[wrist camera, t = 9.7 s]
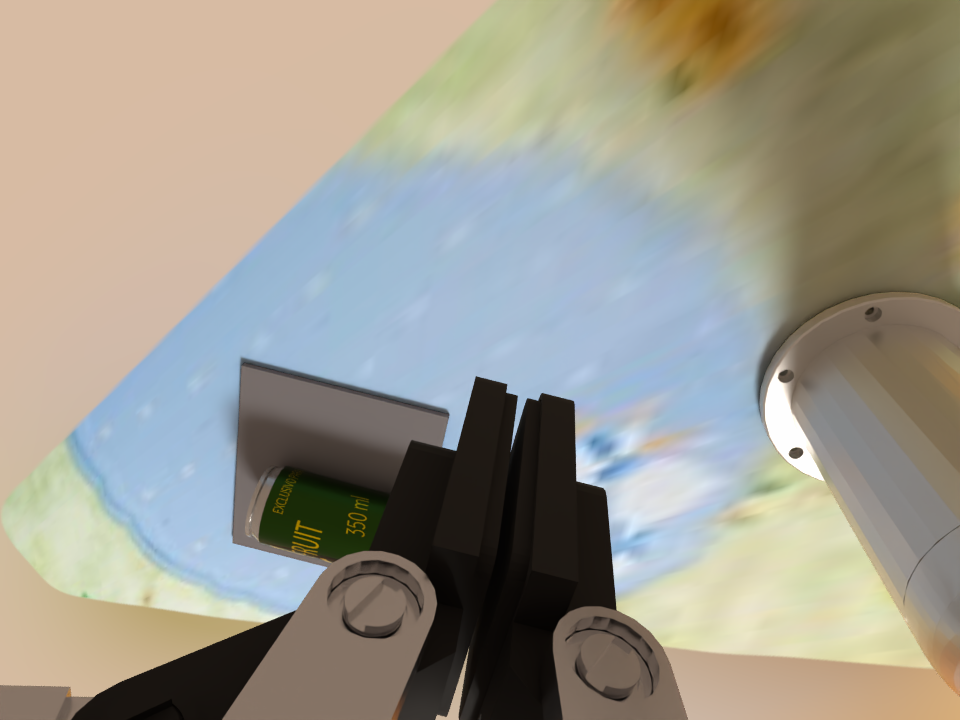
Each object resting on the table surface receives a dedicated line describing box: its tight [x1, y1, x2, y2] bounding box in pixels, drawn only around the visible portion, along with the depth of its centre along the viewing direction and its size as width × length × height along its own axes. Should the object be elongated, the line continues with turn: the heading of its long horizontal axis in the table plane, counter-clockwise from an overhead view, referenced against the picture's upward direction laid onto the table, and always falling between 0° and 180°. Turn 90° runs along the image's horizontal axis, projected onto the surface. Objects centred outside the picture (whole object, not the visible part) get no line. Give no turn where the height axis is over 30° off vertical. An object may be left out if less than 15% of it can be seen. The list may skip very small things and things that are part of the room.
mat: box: [233, 363, 449, 567], centre depth 46 cm, size 14×16×1 cm
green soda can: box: [245, 465, 390, 563], centre depth 44 cm, size 5×5×12 cm
